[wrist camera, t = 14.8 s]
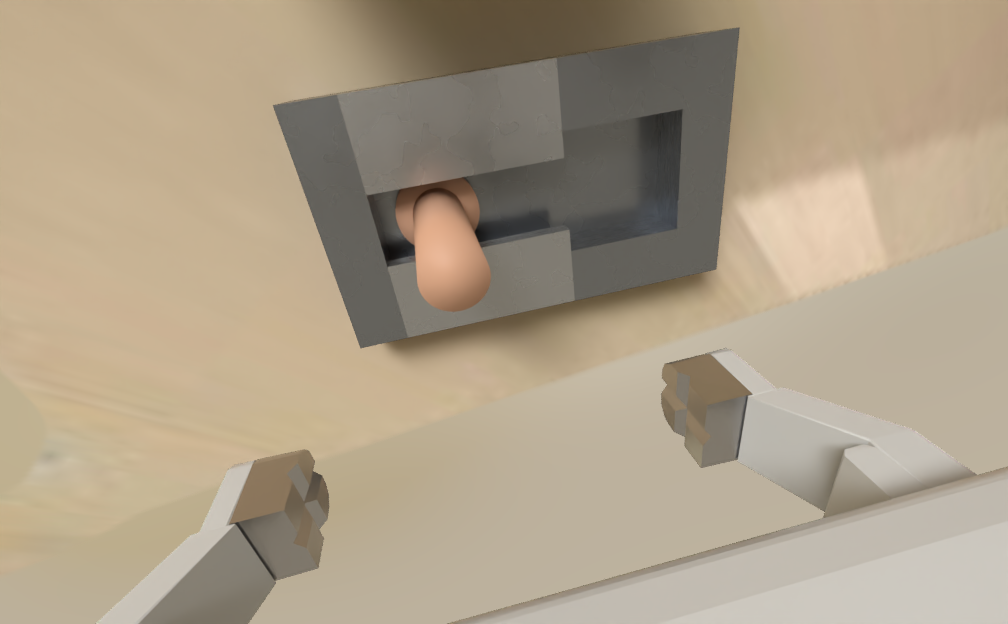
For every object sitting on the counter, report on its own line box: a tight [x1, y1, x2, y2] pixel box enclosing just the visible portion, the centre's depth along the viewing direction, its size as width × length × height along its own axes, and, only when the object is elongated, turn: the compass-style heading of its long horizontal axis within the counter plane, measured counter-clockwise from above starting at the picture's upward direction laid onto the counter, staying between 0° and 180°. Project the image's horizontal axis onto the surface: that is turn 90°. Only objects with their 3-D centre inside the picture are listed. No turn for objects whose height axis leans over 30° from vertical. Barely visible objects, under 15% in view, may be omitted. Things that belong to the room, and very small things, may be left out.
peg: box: [395, 177, 491, 312], centre depth 23 cm, size 5×5×11 cm
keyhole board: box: [273, 27, 740, 348], centre depth 28 cm, size 24×14×4 cm, turn 98°
